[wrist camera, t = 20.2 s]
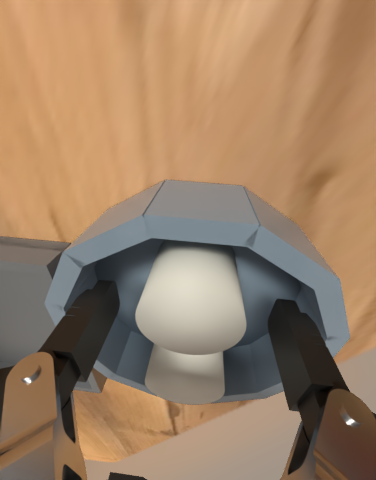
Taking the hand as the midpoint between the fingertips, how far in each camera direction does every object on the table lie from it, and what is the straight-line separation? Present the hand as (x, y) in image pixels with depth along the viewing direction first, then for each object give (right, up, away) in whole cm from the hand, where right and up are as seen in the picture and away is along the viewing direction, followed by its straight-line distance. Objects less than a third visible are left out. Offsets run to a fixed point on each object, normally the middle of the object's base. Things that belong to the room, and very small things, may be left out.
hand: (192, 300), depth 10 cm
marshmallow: (0, +2, +3) cm, 3 cm away
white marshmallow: (0, -4, +6) cm, 7 cm away
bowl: (0, -1, +5) cm, 5 cm away
